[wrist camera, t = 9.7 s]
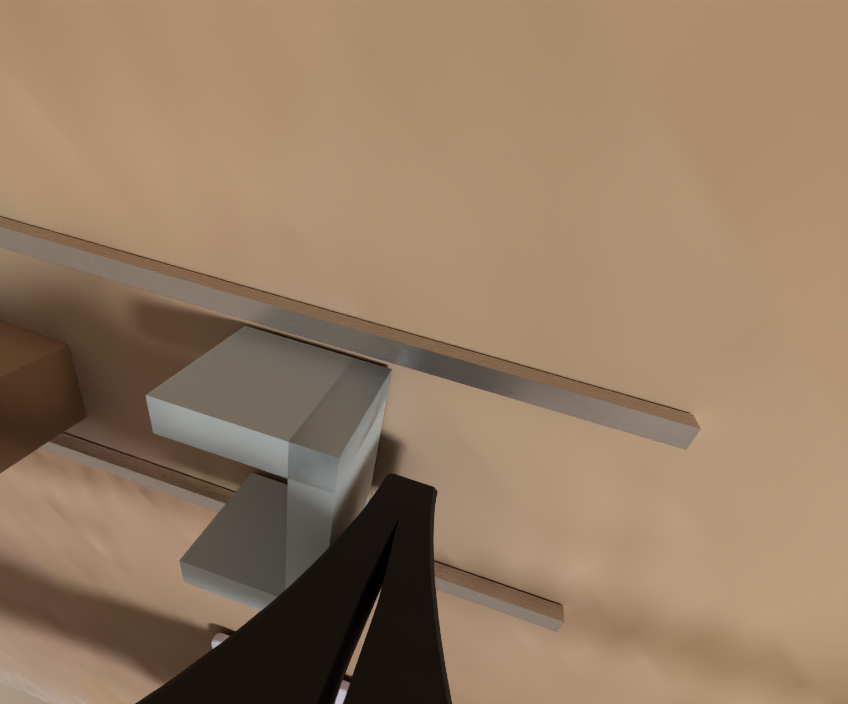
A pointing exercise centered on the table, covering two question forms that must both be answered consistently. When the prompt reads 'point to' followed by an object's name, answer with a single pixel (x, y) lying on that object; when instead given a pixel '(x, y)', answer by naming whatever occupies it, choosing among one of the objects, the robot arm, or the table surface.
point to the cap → (275, 454)
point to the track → (355, 338)
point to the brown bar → (34, 393)
